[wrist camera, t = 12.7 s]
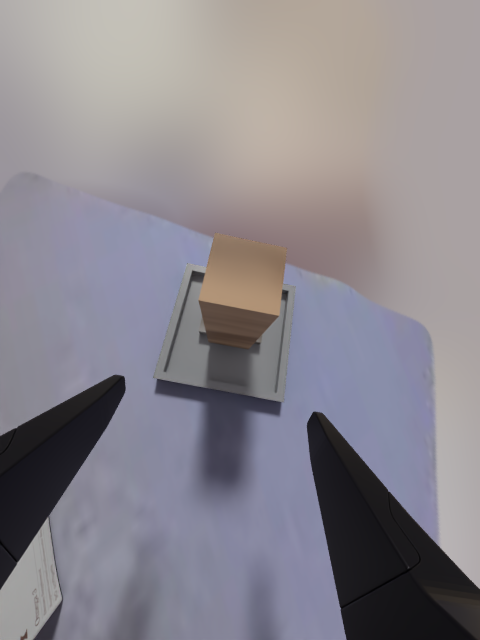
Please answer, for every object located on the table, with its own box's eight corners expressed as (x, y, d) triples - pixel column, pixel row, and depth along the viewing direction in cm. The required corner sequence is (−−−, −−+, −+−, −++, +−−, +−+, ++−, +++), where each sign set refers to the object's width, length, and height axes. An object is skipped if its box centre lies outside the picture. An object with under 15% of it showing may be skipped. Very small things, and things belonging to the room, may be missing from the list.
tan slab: (258, 353, 23) (302, 320, 11) (197, 342, 23) (173, 295, 11) (262, 317, 25) (307, 252, 12) (205, 306, 24) (193, 228, 12)
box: (279, 401, 23) (283, 402, 21) (157, 378, 22) (152, 377, 21) (291, 291, 27) (295, 286, 25) (189, 269, 26) (187, 263, 25)
